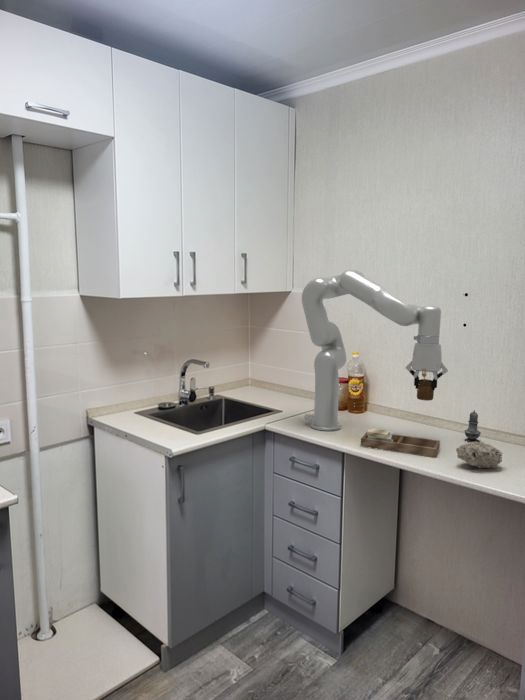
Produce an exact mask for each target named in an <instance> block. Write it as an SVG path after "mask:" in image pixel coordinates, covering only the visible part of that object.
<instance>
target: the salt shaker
mask: <svg viewBox="0 0 525 700" xmlns="http://www.w3.org/2000/svg"><path fill="white" fill-rule="evenodd" d="M478 418H479V414H478V413H477V412H476V411H475V409H473V411H472V412H470V414H469V420H468V421H467V422H468V426H467V429H465V430H463V432H464V434H465V437H466V438H464V442H466V441H467V442H466V443H469V442H479V443H480V440H478V439H479V437H480V436H481V431H480V430H478V425H479V420H478Z"/></svg>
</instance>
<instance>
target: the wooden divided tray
mask: <svg viewBox="0 0 525 700" xmlns="http://www.w3.org/2000/svg"><path fill="white" fill-rule="evenodd" d="M390 434H391V435H392V440H393V442H389V441H382V440H375V439H368V436H367V431H366V432H365V433H364V434H363V436H362V437H361V438H360V447H361V446H364V447H363V448H368V447H371V448H370V449H375V448H377V450H381V449H383V450H382V451H388V450H390V451H389V452H395V451H396V452H397V453H401V454H409V455H410V454H411V455H417V456H423V457H429V458H437V456H438V453H439V451H440V446H441V439H439V440H438V439H433V438H424V437H417V436H410V435H402V434H396V433H390Z"/></svg>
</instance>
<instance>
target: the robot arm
mask: <svg viewBox="0 0 525 700" xmlns="http://www.w3.org/2000/svg"><path fill="white" fill-rule="evenodd" d="M346 295H350V296H352V297H354V298H356V299H357V300H359V301H361V302H363V303H364V304H366V305H367V306H370V307H371V309H372V310H374V311H376V312H377V313H379V314H380V315H381V316H383V317H385V318H387V319H388V320H390V321H391V322H393V323H395V324H397V325H399V326H401V327H409V326H412V325H418V329H417V330H418V332H417V335H415V336H413V341H414V340H415V341H416V342H415V343H414V346H413V353H412V359H411V361H410V362H409V363H408V364H407V365H406V366H405V369H406V370H407V371H408V372H409V374H411V375H412V376H413V386H415V388H414V389H416V390H417V388H418V385H419V383H418V382H419V380H420V377H419V374H420V372H422V368H423V372H424V371H425V368H426V373H427V372H428V373H431V372H432V375H433V379H432V381H433V383H432V390H434V391H435V390H436V389H437V388H438V379H439V378H441V377H442V376H443V375H445V374H446V373H448V371H449V370H448V369H447V367H446V365H444V364H443V361H442V360H443V359H442V355H443V354H442V345H441V344H440V330H441V318H442V316H441V315H442V311H441V308H440V307H439V306H436V305H435V306H431V305H429V306H428V305H424V306H421V305H417V304H405V303H403V302H401V300H398V299H396V298H395V297H393V296H392V295H390V294H389V293H388V292H387V291H386V289H385V288H384V287H383V286H381V285H380V284H378V283H376V282H375V281H373V280H371V279H369V278H367V277H365V275H364V274H363V273H362V272H361V271H359V270H357V269H356V270H354V269H347V270H344V271H343V272H341V274H338V275H333V276H329V277H324V276H322V277H321V276H319V277H316V278H313V279H312V280H310V281H309V282H308V283H306V285H305V287H304V288H303V290H302V293H301V304H302V305H301V306H302V308H303V312H304V315H305V321H306V325H307V328H308V333H309V337H310V340H311V342H312V343H313V345H314V346H317V347H319V348H321V351H319V352H318V353H317V354H316V356H315V358H314V362H313V365H314V366H313V368H314V380H315V381H314V408H313V414H308V413H305V414H304V419H305V420H307V421H310V423H309V426H310V428H312V429H314V430H317V431H326V432H327V431H328V432H331V431H338V430H340V429H341V428H342V423H340V422H338V420H339V418H338V417H339V395H340V378H339V376H340V375H339V370H340V369H342V368H343V367H344V366H345V365H346V362H347V353H346V348H345V346H344V342H343V338H342V334H341V331H340V329H339V327H338V326H337V324H335V323H334V322H332V321H329V318H328V313H327V310H326V307H325V305H324V302H323V301H324V300H326V299H327V300H328V299H334V298H339V297H341V296H346ZM441 370H442V371H441Z"/></svg>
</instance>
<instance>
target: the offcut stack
mask: <svg viewBox="0 0 525 700" xmlns="http://www.w3.org/2000/svg"><path fill="white" fill-rule="evenodd" d="M366 432H367V436H368V439H375V440H382V441H389V442H393V440H392V435H391V434H392V433H391V430H387V429H380V428H373V427H372V428H370V429H369V430H367V431H366Z"/></svg>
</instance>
